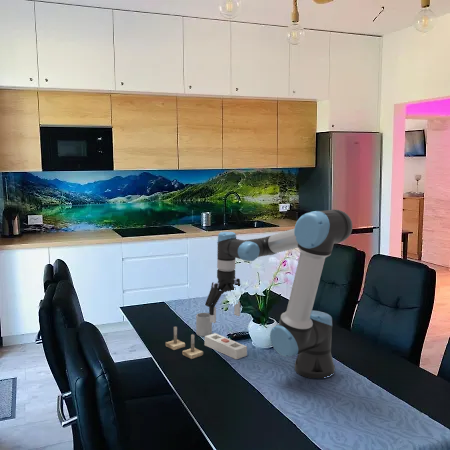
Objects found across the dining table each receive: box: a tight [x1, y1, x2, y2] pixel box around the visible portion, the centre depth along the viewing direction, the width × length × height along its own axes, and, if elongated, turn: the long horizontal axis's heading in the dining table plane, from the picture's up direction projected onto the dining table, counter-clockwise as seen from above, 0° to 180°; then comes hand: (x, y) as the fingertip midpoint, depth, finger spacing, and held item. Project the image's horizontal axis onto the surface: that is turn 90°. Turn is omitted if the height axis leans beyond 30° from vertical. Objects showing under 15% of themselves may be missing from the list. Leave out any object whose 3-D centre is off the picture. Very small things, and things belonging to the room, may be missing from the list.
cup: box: [195, 312, 213, 337], centre depth 227 cm, size 7×10×9 cm
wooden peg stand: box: [165, 326, 204, 360], centre depth 206 cm, size 18×6×8 cm, turn 42°
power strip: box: [204, 332, 248, 360], centre depth 207 cm, size 20×6×5 cm, turn 42°
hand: (225, 318), depth 205 cm, fingers open, 13 cm apart
